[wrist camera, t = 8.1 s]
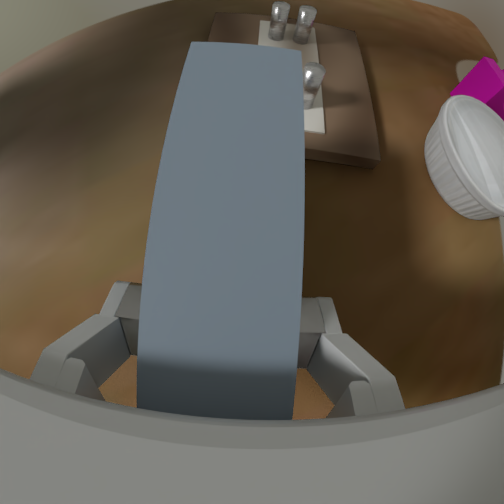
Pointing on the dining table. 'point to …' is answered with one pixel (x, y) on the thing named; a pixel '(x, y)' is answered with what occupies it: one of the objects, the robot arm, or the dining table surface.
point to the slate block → (227, 239)
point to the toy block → (484, 85)
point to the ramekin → (468, 157)
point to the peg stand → (317, 80)
